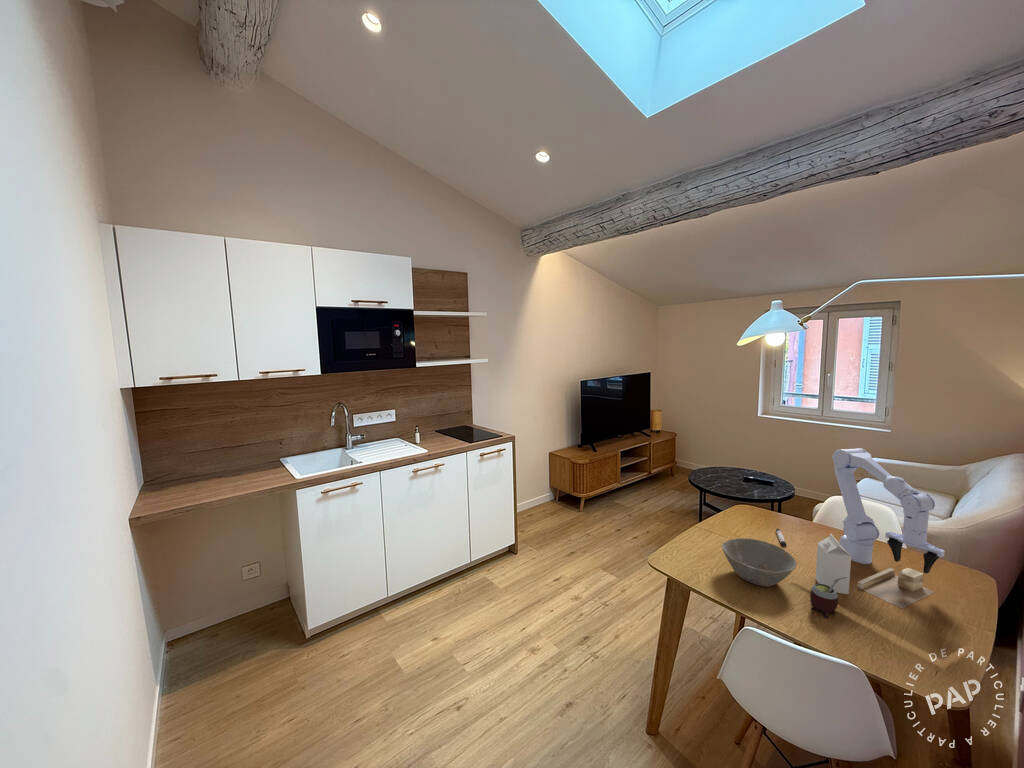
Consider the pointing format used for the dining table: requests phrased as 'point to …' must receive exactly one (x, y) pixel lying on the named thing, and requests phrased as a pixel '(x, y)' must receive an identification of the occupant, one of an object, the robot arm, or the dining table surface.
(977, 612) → the dining table surface
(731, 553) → the ceramic bowl
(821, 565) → the milk carton
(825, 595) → the mate gourd
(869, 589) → the pale wooden board
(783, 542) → the marker
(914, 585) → the block
